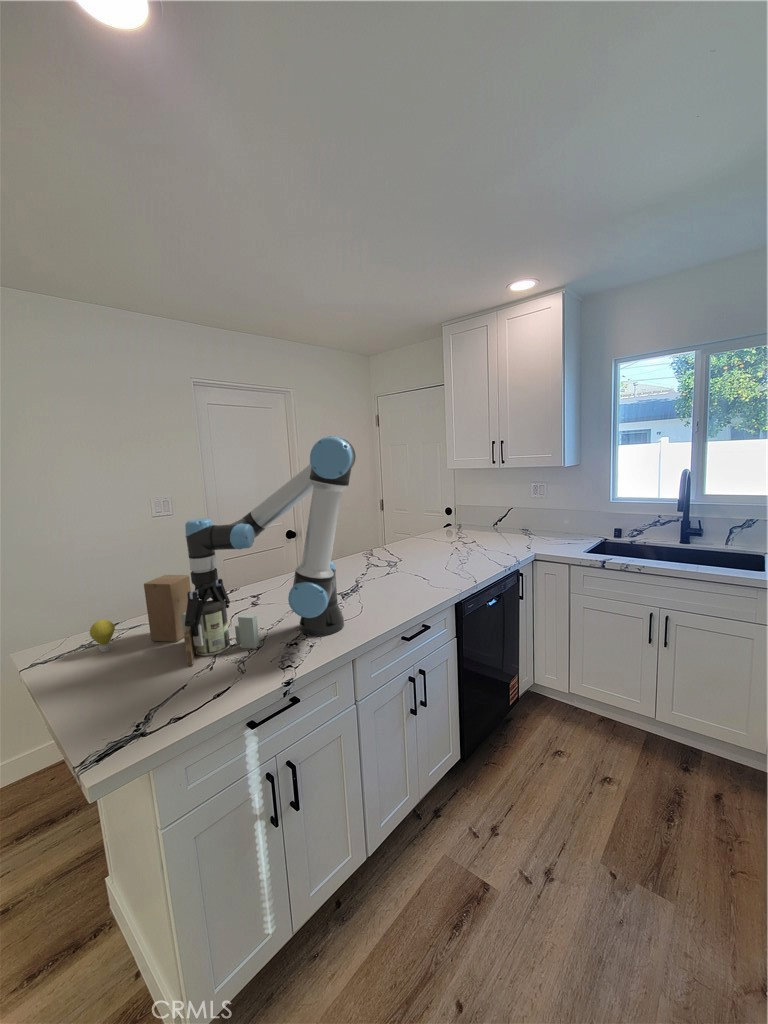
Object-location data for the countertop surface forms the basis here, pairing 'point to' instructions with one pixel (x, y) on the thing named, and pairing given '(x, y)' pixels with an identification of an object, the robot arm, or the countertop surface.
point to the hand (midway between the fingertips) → (211, 636)
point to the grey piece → (242, 630)
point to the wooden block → (167, 606)
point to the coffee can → (214, 628)
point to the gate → (189, 645)
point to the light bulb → (102, 633)
